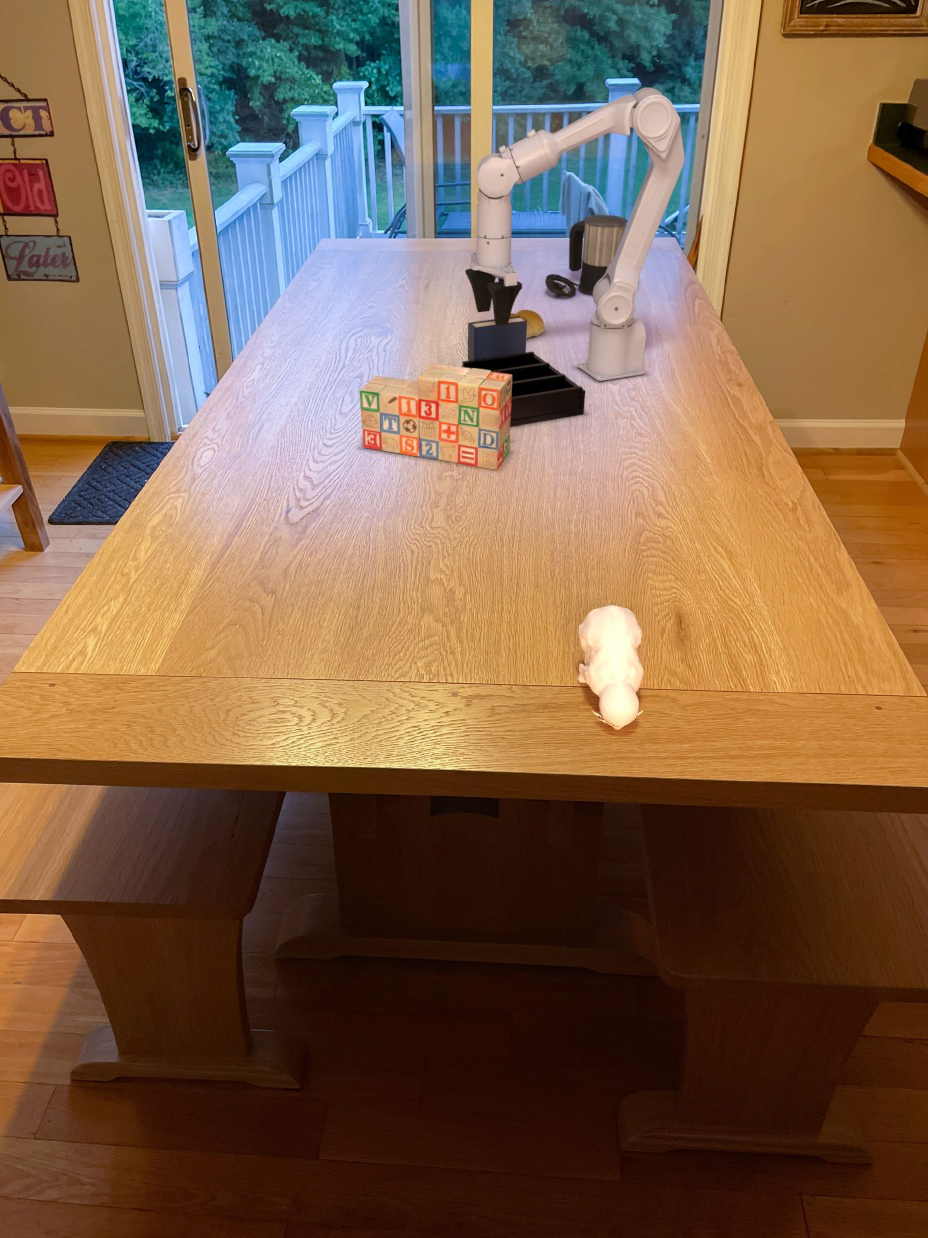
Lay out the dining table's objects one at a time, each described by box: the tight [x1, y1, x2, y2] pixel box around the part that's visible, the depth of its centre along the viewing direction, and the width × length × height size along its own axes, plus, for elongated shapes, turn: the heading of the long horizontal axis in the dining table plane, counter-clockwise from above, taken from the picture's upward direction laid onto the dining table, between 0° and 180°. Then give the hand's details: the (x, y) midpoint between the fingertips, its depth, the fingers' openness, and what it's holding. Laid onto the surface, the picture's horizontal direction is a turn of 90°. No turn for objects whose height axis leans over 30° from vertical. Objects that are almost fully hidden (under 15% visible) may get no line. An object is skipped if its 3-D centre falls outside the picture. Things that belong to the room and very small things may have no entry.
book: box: [467, 316, 527, 361], centre depth 171 cm, size 10×3×8 cm, turn 113°
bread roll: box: [510, 309, 546, 339], centre depth 187 cm, size 8×9×4 cm
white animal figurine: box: [577, 604, 645, 731], centre depth 94 cm, size 6×8×12 cm
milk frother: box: [544, 214, 629, 298], centre depth 206 cm, size 14×16×15 cm
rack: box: [461, 350, 586, 428], centre depth 159 cm, size 14×19×4 cm
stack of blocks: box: [359, 363, 512, 470], centre depth 141 cm, size 21×6×12 cm, turn 71°
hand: (492, 317), depth 166 cm, fingers open, 7 cm apart
